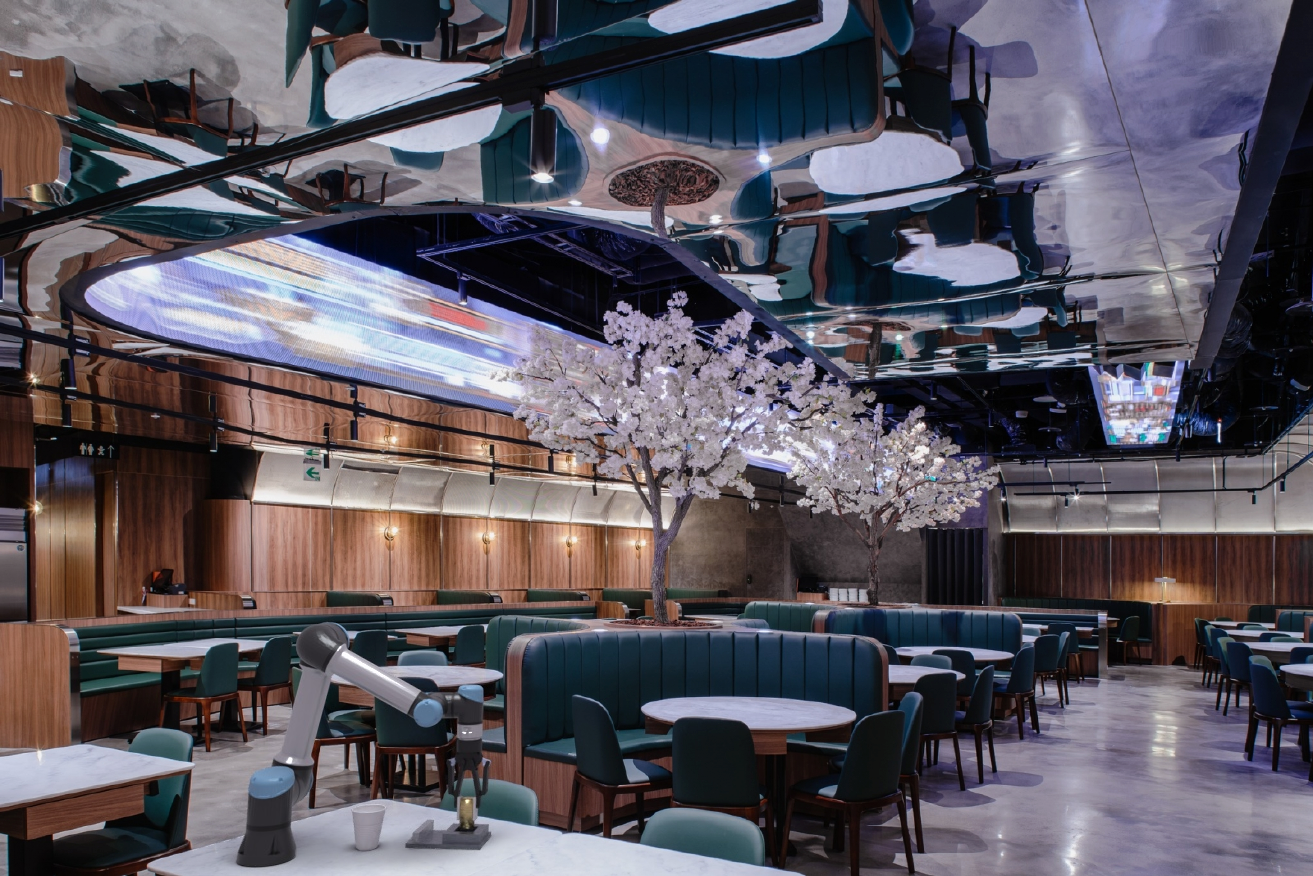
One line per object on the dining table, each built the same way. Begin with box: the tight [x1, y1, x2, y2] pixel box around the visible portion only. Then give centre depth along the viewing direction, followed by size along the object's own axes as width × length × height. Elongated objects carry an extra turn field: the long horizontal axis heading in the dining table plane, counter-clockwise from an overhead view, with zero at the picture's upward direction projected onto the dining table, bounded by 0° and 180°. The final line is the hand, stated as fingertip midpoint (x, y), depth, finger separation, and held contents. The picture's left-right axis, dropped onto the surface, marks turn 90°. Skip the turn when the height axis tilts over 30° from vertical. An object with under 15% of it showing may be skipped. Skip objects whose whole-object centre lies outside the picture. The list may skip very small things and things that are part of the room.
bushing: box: [458, 796, 476, 829], centre depth 267 cm, size 4×4×8 cm
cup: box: [351, 803, 388, 852], centre depth 260 cm, size 10×10×11 cm
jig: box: [404, 819, 492, 851], centre depth 266 cm, size 22×14×4 cm, turn 87°
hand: (467, 819), depth 267 cm, fingers closed on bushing, 4 cm apart
